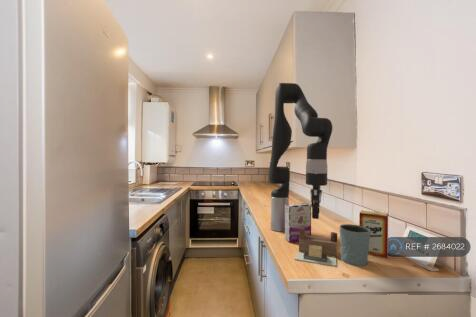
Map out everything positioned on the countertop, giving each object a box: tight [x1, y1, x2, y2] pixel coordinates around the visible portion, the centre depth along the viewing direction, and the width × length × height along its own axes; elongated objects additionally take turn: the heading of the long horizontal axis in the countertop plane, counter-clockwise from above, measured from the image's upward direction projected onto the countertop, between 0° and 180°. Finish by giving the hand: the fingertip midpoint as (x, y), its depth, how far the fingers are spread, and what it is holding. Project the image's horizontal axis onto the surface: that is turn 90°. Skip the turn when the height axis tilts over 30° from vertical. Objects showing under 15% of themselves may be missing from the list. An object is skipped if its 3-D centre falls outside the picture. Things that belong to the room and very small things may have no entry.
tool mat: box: [294, 251, 337, 267], centre depth 86 cm, size 7×14×1 cm, turn 69°
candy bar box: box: [284, 202, 312, 243], centre depth 107 cm, size 11×5×16 cm, turn 105°
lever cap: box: [303, 245, 327, 262], centre depth 86 cm, size 4×8×4 cm, turn 69°
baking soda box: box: [359, 210, 389, 258], centre depth 94 cm, size 10×6×16 cm
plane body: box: [298, 225, 338, 258], centre depth 94 cm, size 6×14×9 cm, turn 69°
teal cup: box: [339, 224, 371, 267], centre depth 85 cm, size 10×10×12 cm
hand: (315, 215), depth 86 cm, fingers open, 8 cm apart
